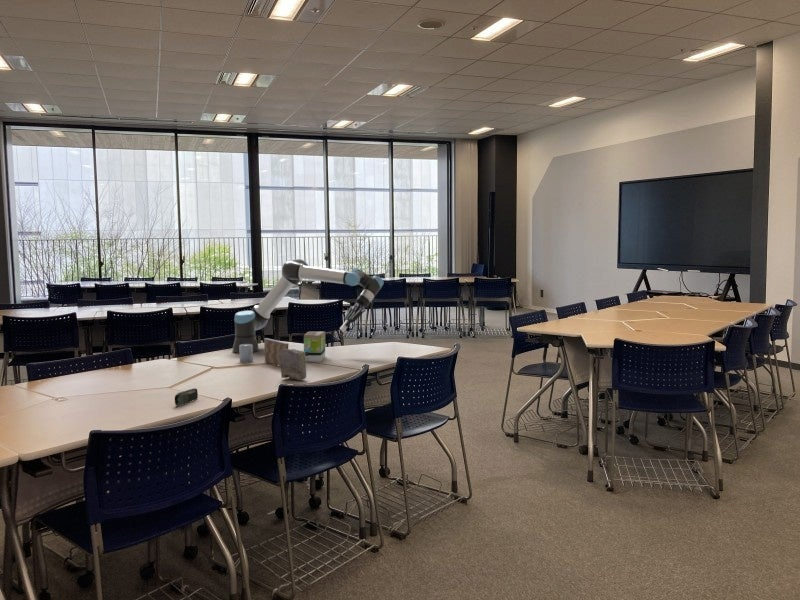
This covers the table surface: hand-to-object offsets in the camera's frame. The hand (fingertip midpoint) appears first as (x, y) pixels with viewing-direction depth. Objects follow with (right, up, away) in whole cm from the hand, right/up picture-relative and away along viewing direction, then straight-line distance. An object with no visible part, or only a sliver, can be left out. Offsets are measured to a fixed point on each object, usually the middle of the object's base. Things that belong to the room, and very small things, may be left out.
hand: (341, 330), depth 353 cm
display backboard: (-32, -17, -24) cm, 43 cm away
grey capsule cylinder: (-51, -16, -13) cm, 55 cm away
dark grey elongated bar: (-54, -25, -100) cm, 117 cm away
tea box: (-14, -16, -9) cm, 23 cm away
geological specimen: (-17, -21, -60) cm, 66 cm away
